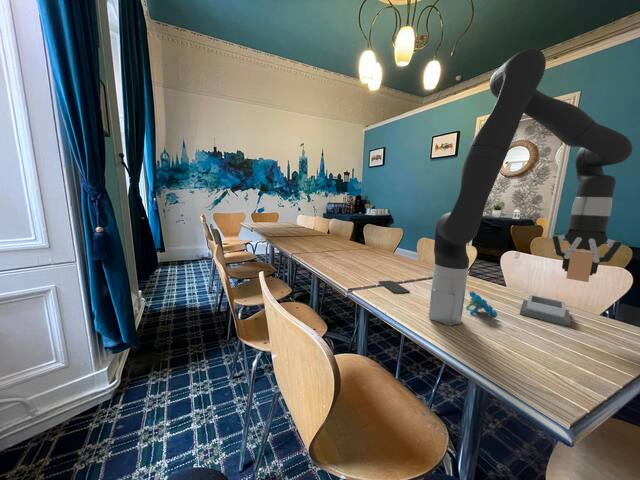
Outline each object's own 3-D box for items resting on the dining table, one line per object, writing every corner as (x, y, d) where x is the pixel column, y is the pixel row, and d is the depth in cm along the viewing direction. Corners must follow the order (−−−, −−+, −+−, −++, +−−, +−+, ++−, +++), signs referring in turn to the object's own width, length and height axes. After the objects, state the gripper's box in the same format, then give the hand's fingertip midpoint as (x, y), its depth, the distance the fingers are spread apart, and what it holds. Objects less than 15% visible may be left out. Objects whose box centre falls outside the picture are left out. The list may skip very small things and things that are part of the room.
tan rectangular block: (588, 282, 70) (594, 254, 69) (566, 278, 73) (571, 251, 72) (587, 279, 73) (592, 252, 72) (566, 275, 76) (571, 249, 75)
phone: (392, 280, 115) (411, 291, 100) (392, 282, 115) (411, 293, 100) (377, 281, 113) (394, 292, 99) (377, 282, 113) (394, 294, 99)
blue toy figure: (505, 318, 77) (482, 293, 78) (489, 330, 77) (467, 305, 78) (486, 308, 88) (466, 286, 89) (472, 319, 88) (452, 297, 89)
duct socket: (569, 327, 76) (572, 313, 75) (519, 314, 84) (521, 301, 84) (567, 314, 86) (570, 301, 85) (523, 303, 94) (525, 292, 93)
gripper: (554, 212, 73) (544, 269, 75) (632, 215, 63) (617, 281, 65) (555, 212, 78) (545, 265, 80) (627, 215, 68) (613, 276, 71)
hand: (578, 272), depth 73 cm, fingers closed on tan rectangular block, 4 cm apart
